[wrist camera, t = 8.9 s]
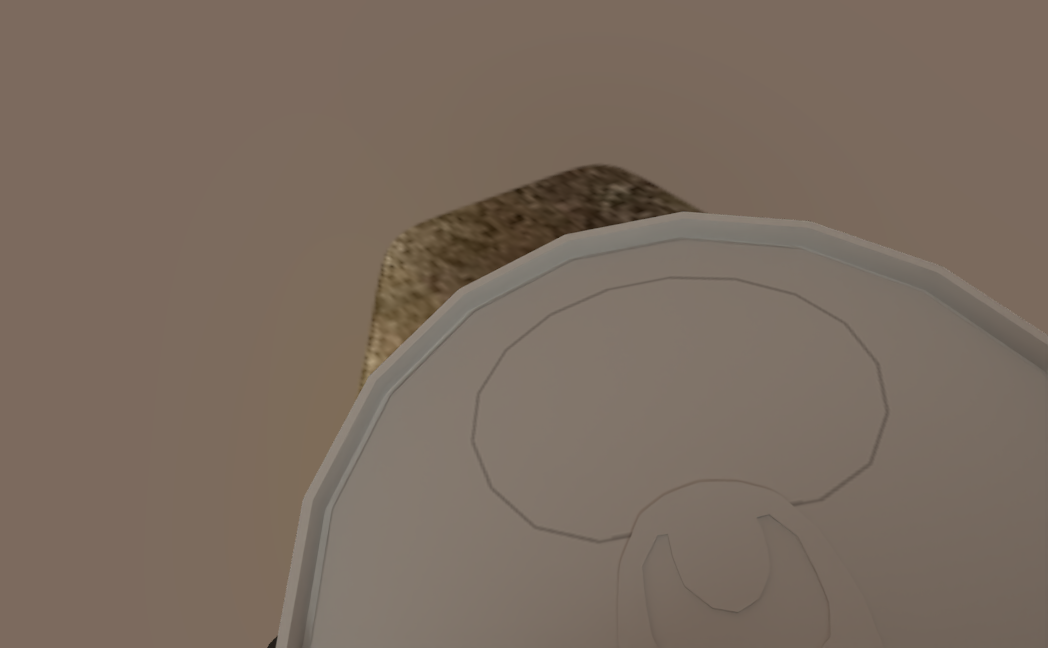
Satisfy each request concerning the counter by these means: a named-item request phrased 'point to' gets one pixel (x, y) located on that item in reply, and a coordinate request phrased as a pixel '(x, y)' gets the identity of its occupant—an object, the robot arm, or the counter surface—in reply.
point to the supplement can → (690, 456)
